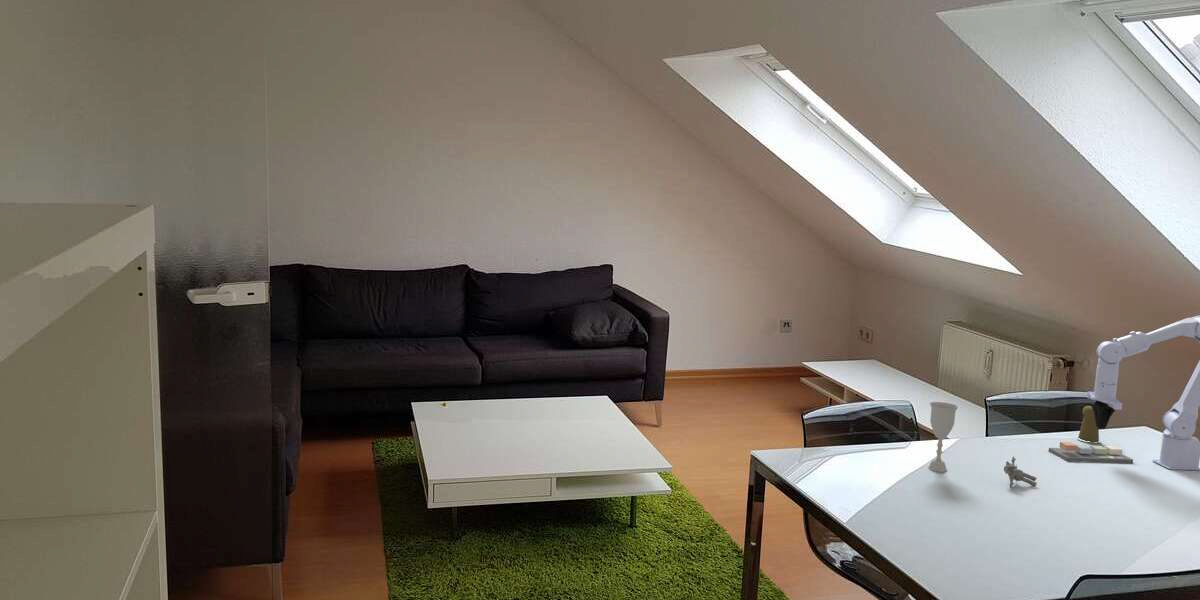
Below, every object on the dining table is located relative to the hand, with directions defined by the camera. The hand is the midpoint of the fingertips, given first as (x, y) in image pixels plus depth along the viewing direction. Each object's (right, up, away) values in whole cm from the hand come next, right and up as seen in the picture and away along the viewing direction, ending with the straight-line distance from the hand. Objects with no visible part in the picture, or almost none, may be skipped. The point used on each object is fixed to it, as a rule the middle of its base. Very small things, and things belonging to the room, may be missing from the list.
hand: (1100, 427), depth 284 cm
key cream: (+4, -8, +1) cm, 9 cm away
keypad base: (-3, -9, +1) cm, 9 cm away
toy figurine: (-37, -11, -28) cm, 48 cm away
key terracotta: (-10, -6, 0) cm, 11 cm away
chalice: (-55, -9, -18) cm, 58 cm away
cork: (+6, -7, +20) cm, 22 cm away
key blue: (-5, -7, +1) cm, 9 cm away
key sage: (0, -7, +1) cm, 7 cm away
